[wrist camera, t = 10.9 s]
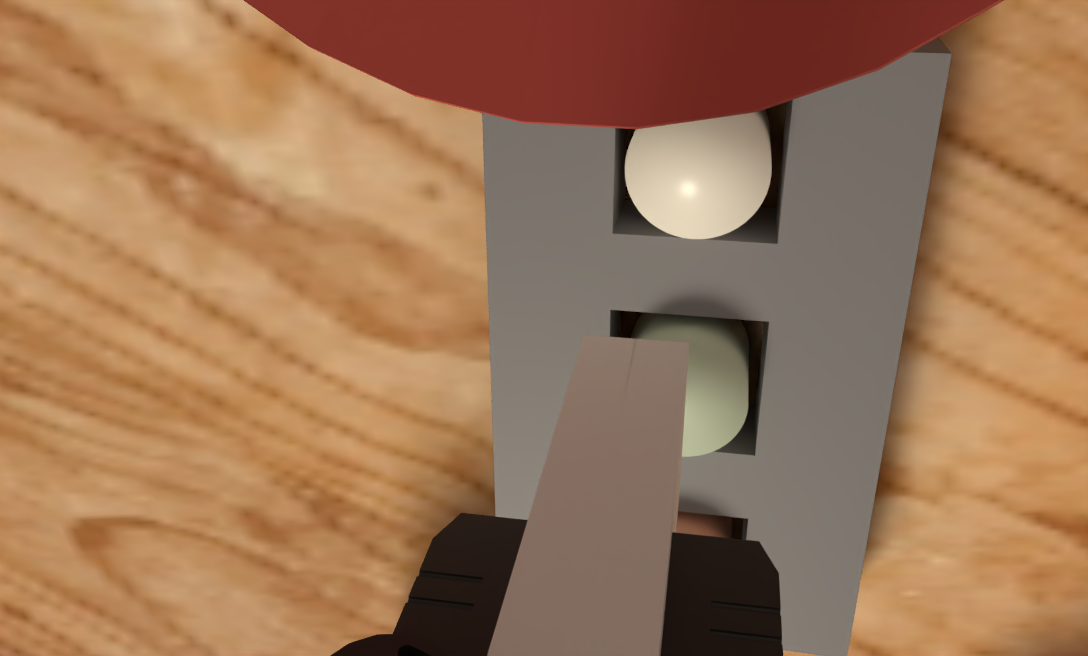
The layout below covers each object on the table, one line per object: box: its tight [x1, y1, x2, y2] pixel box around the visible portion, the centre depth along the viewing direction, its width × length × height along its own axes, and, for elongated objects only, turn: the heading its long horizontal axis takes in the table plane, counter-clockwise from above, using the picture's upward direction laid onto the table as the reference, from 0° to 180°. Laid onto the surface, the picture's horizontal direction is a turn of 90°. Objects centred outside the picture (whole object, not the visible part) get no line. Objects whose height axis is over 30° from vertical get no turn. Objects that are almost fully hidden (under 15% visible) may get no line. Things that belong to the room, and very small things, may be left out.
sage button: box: [631, 312, 749, 457], centre depth 31 cm, size 4×4×4 cm
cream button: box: [625, 109, 772, 239], centre depth 28 cm, size 4×4×4 cm
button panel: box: [482, 37, 952, 656], centre depth 32 cm, size 20×12×3 cm, turn 0°
